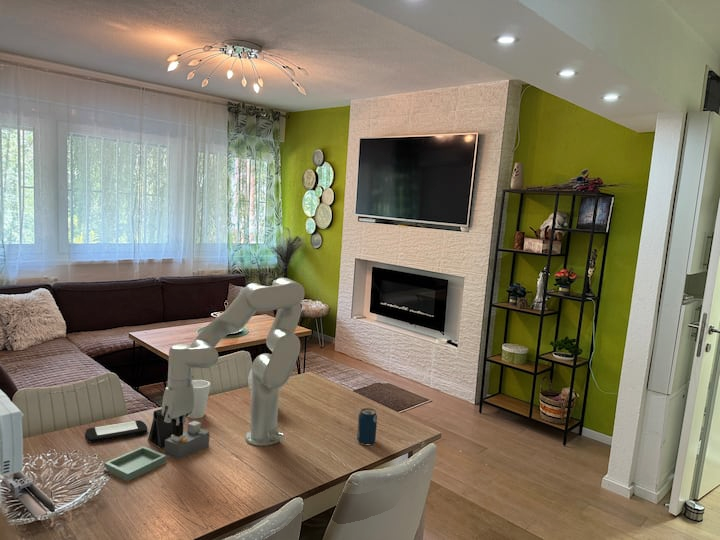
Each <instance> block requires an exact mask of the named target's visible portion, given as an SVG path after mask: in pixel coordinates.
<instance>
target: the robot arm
mask: <svg viewBox="0 0 720 540" xmlns="http://www.w3.org/2000/svg"><path fill="white" fill-rule="evenodd" d="M272 283H273V284H272V285H268V286H265V285H262V284H259V283H255V282H253V283H252V282H251V283H249V284H247V285H246V286H245V287H243V288H242V290H241V291H240V292H239V294H238V295H237V296H236V297H235V299H233V301H232V302H231V303H230V304H229V305H228V307H227V308H225V310H224V311H223V312H222V313H221V314H220V315H219V316H217V317H216V318H214V320H212V321H211V322H210V323H208V324H207V325H206V326H205V327H204V328H203V329H202V330H201V331H200V333H198V335H197V336H196V337H195V339H193V341H192V343H191V345H189V344H186V343H179V344H178V343H177V344H174V345H172V346H170V348H169V350H168V366H167V367H168V371H167V372H168V373H167V386H166V387H165V390H164V391H163V392H164V393H163V397H162V404H161V409H162V416H165V419H164V422H166V423H172V424H173V435H175V436H178V437H179V436H180V435H183V432H184V424H185V423H186V419H187V418H188V417H189V416H188V415H190V414H191V413H192V410H193V408H194V389H193V384H192V381H193V379H194V375H193V368H195V369H196V368H197V369H209V368H212V367H214V366H215V365H216V364H217V363H218V361H219V353H218V350H217V349H216V348H215V347H217V345H218V344H219V342H220V341H221V340H223V338H225V337H227V336H228V335H230V334H232V333H235V332H239V331H241V330H242V329H243V328H245V326H246V325H247V324H248V322H249V321H250V320H251V319H252V318H253V316H254V315H255V314H256V313H257V312H270V311H275V310H276V314H275V318H274V320H273V322H272V324H271V327H270V330H269V331H268V334H267V336H266V339H265V343H266V346H267V348H268V349H269V350H270V351H271V352H272V353H268V352H267V353H266V352H265V353H261V354H259V355H257V356H256V358H255V359H253V362H252V366H251V369H252V383H253V384H252V386H253V390H252V396H251V409H250V410H251V411H250V412H251V413H250V425H249V426H250V429H249V431H247V433H246V434H245V441H246V442H247V443H248V444H251V445H253V446H256V447H257V446H258V447H259V446H260V447H266V446H271V445H274V444H277V443H278V442H280V443H281V442H283V441H284V437H285V434H284V433H282V432H280V427H278V412H279V411H278V410H279V398H280V396H279V395H280V392H279V388H280V389H281V388H282V387H284V386H285V385H286V383H288V381H289V379H290V377H291V375H292V372H293V369H294V367H295V365H296V362H297V360H298V358H299V356H300V352H301V341H300V338H299V337H298V336H297V335H296V334H295V333H296V331H297V326H298V324H299V321H300V318H301V314H302V305H301V303H302V302H303V300H304V298H305V294H306V293H305V292H306V291H305V289H304V286H303V285H302V284H301V283H299V282H297V281H295V280H292V279H291V278H287V277H278V278H277V279H275V280H274V282H272Z"/></svg>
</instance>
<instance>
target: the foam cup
mask: <svg viewBox="0 0 720 540" xmlns="http://www.w3.org/2000/svg"><path fill="white" fill-rule="evenodd" d="M192 384H193V389H194V408H193V410H192V413H191V414H190V415H188V416H187V417H188V418H190V419H200V418H203V417H205V415H206V410H207V404H208V399H209V394H210V390H211V382H210V381H208V380H204V379H194V380H193V379H192Z"/></svg>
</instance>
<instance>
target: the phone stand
mask: <svg viewBox="0 0 720 540" xmlns="http://www.w3.org/2000/svg"><path fill="white" fill-rule="evenodd" d="M152 414H153V417H152V418H153V419H152V423H151V425H150V430H149V434H148V439H147V440H148V441H149V442H150V443H152V444H153V445H154V446H156V447H158V449H160V448H161V449H165V439H168V438H170V437H171V435H173V424H172V423H166V422H164V419H165V416H162V408H161V409H157V410H154V411H153V413H152Z"/></svg>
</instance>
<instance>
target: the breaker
mask: <svg viewBox="0 0 720 540" xmlns="http://www.w3.org/2000/svg"><path fill="white" fill-rule="evenodd" d="M201 424H202V423H201V422H199V421H197V420H193V421H191V422H189V423H187V430H188V433H190V434H193V435H194V434H196V433H198V431H200V429H201V426H202V425H201Z"/></svg>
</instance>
